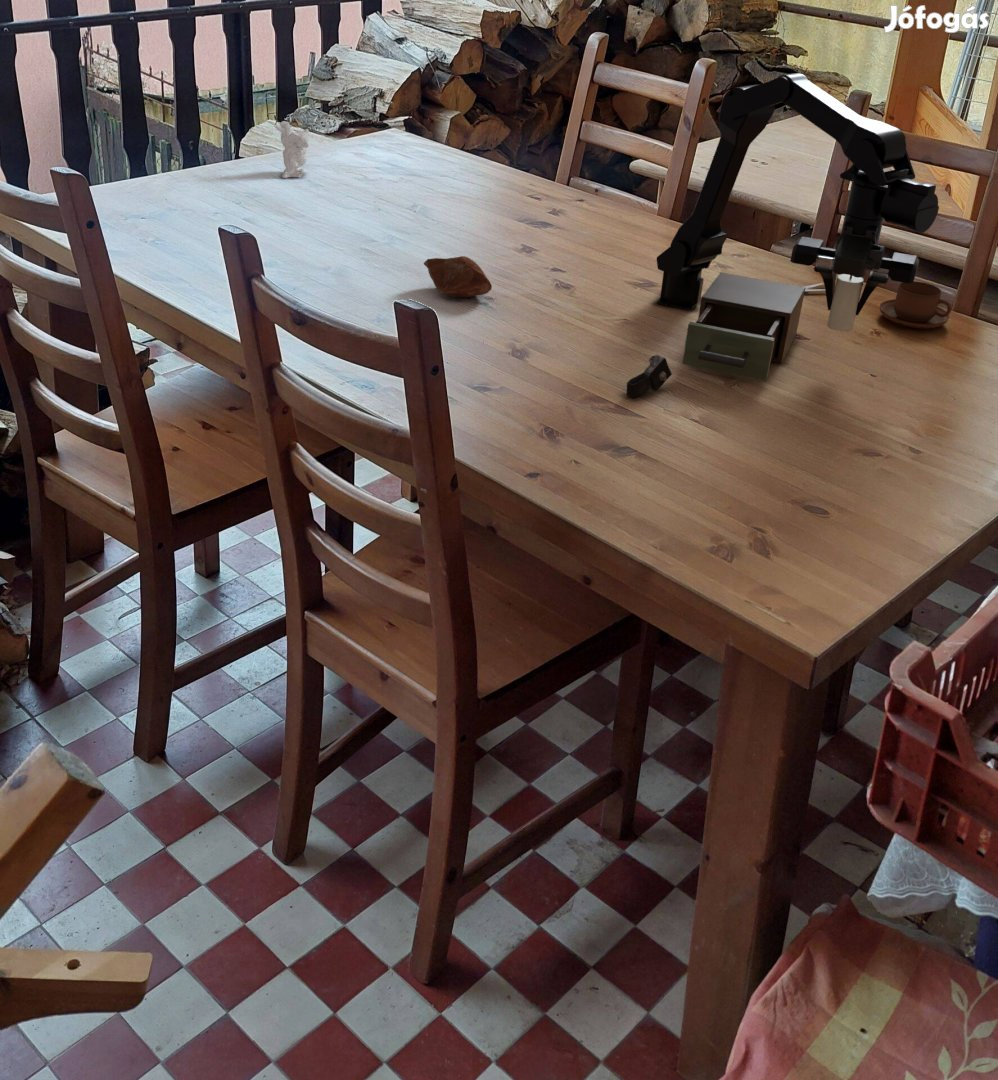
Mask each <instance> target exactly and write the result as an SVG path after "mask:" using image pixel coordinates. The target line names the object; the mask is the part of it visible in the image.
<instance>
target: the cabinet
mask: <svg viewBox="0 0 998 1080" xmlns="http://www.w3.org/2000/svg"><path fill="white" fill-rule="evenodd" d="M805 293H806V292H805V287H804V286H800V285H795V284H788V283H782V282H777V281H771V280H766V279H761V278H757V277H750V276H744V275H738V274H733V273H727V272H721V271H720V272H719V274H718V275H717V277H716V278H715V279H714V280H713V282H712V283H711V284H710V285H709V287H708V288H707V289H706V291H705V292H704V293H703V295H701V300H700V306H699V312H698V318H699V317H700V316H701V314H702V313H703V312H704V310H705V309H706V308H707V306H708V305H709V304H710V303H712V304H718V305H723V306H728V307H734V308H739V309H744V310H750V311H755V312H760V313H766V314H771V315H777V316H782V317H783V322H782V327H781V332H780V338H779V343H778V348H777V352H776V353H775V355H774V357H773V359H772V361H771V363H772V362H773V363H778V364H782V363H783V361H784V359H785V358H786V355H787V353H788V351H789V350H790V348H791V346H792V345H793V342H794V341H795V338H796V337H797V333H798V327H799V324H800V323H799V322H800V318H801V312H802V307H803V302H804V297H805Z"/></svg>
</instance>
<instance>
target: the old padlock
mask: <svg viewBox="0 0 998 1080" xmlns="http://www.w3.org/2000/svg"><path fill="white" fill-rule="evenodd" d="M648 362H649V364H648V366H647V367H646V368H645V369H644V371H643V372H642V373H640V374H638V375H635V376H633V377H632V378H631V379H629V380H628V381H627V382H626V396H627V397H630V398H632V399H637V398H639V397H641V396H643V395H644V394H646V393H647V392H648V391H650V389H652V390H654V391H658V390H659V389H660V388H661V387H662V386H663V385H664V383H666V381H667V380H668V379H669V378H670V377H672V375H673V373H672V372H671V369H670V367H669V365H668V361H667V358H666V357H664V356H662V355H658V354H655V355H652V356H650V358H649V359H648Z"/></svg>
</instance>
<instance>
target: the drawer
mask: <svg viewBox="0 0 998 1080" xmlns="http://www.w3.org/2000/svg"><path fill="white" fill-rule="evenodd" d="M782 322H783V317H782V316H777V315H771V314H766V313H760V312H755V311H750V310H744V309H739V308H734V307H728V306H723V305H718V304H712V303H710V304H709V305H708V306H707V308H706V309H705V310H704V312H703V313H702V314H701V316H700V317H699V316H698V318H697V320H696V322H694V321H689V323H688V325H687V331H686V337H685V338H686V339H685V344H684V352H683V358H682V365H683V366H684V365H685V366H689V367H693V368H700V369H704V370H709V371H714V372H719V373H724V374H728V375H733V376H738V377H744V378H749V379H754V380H758V381H763V382H766V381H767V380H768V379H769V378H768V376H769V372H770V368H771V367H770V366H771V363H772V359H773V357H774V355H775V353H776V352H777V348H778V343H779V338H780V332H781V327H782Z"/></svg>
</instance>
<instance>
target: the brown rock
mask: <svg viewBox="0 0 998 1080" xmlns="http://www.w3.org/2000/svg"><path fill="white" fill-rule="evenodd" d="M423 265H424V266H425V268H427V271H428V275H429V277H430V278H431V280H432V283H433V284H434V287H435V288H436V290H437V291H438V292H440V293H442V294H444V295H447V296H449V297H451V298H452V297H453V298H466V299H467V298H471V297H476V296H483V295H486V294H488V293H489V292H490V291H492V288H493V285H492V283H491V282H490V279H489V278H488V276H486V275H487V274H485V271H484V270H483V269H482V268H481V266H480V265H479V264H478V263H477V262H475V261H474V260H473V259H471V258H469V257H468V256H463V255H461V256H454V257H448V258H441V257H435V258H434V257H433V258H427V259H426V260H425V261H424V262H423Z"/></svg>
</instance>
